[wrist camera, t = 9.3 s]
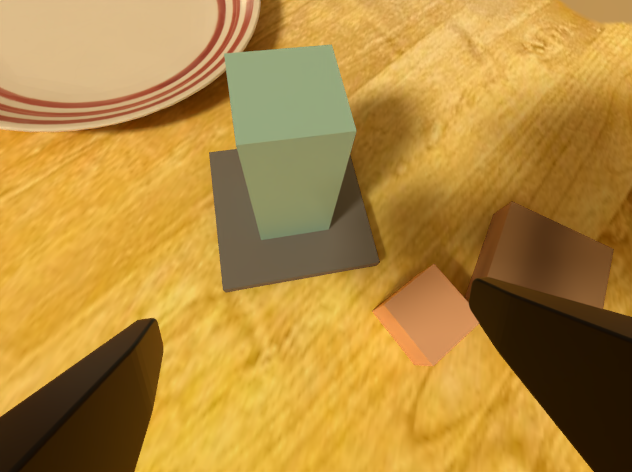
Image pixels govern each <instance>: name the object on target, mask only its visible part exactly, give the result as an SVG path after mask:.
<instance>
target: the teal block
mask: <svg viewBox="0 0 632 472" xmlns="http://www.w3.org/2000/svg"><path fill="white" fill-rule="evenodd" d="M224 58H225V65H226V73H227V81H228V88H229V96H230V103H231V111H232V118H233V126H234V133H235V141H236V147H237V151H238V154H239V158H240V162H241V166H242V170H243V173H244V177H245V181H246V185H247V188H248V192H249V196H250V200H251V204H252V207H253V211H254V215H255V219H256V222H257V226H258V230H259V234H260V238H261V240H265V239H272V238H278V237H284V236H291V235H297V234H303V233H310V232H316V231H322V230H328V229H329V227H330V223H331V220H332V216H333V213H334V209H335V206H336V202H337V199H338V195H339V192H340V188H341V185H342V181H343V177H344V174H345V170H346V167H347V163H348V160H349V156H350V153H351V149H352V146H353V142H354V139H355V135H356V127H355V124H354V120H353V117H352V113H351V110H350V106H349V103H348V99H347V96H346V92H345V89H344V85H343V82H342V79H341V75H340V72H339V68H338V65H337V61H336V58H335V54H334V51H333V47H332V45H322V46H309V47H297V48H285V49H273V50H261V51H248V52H236V53H224Z"/></svg>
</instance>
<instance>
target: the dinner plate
mask: <svg viewBox="0 0 632 472" xmlns="http://www.w3.org/2000/svg"><path fill="white" fill-rule="evenodd" d="M260 7H261V0H0V129H3V130H12V131H24V132H63V131H77V130H84V129H92V128H99V127H104V126H109V125H115V124H119V123H122V122H126V121H130V120H133V119H137V118H140V117H144V116H147V115H149V114H151V113H154V112H157V111H159V110H161V109H164V108H167V107H169V106H172V105H174V104H176V103H178V102H180V101H182V100H184V99H186V98H187V97H189V96H191V95H193V94H194V93H196V92H198V91H200V90H201V89H203V88H205V87H206V86H207V85H209V84H210V83H212V82H213V81H214V80H216V79H217V78H218V77H219V76H220V75H222V74H223V73H224V72H225V71H226V65H225V58H224V53H236V52H243V51H244V49H245V48H246V46H247V44H248V43H249V41H250V39H251V38H252V36H253V33H254V31H255V29H256V26H257V22H258V19H259V14H260Z"/></svg>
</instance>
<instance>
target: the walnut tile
mask: <svg viewBox="0 0 632 472" xmlns="http://www.w3.org/2000/svg"><path fill="white" fill-rule="evenodd" d="M613 250H614V249H612V248H610V247H608V246H606V245H604V244H602V243H600V242H597V241H595V240H593V239H591V238H589V237H587V236H585V235H583V234H580V233H578V232H576V231H574V230H572V229H570V228H568V227H566V226H563V225H561V224H559V223H557V222H555V221H553V220H551V219H549V218H546V217H544V216H542V215H540V214H538V213H536V212H534V211H532V210H529V209H527V208H525V207H523V206H521V205H519V204H517V203H514V202H510V203H509V204H507V205H506V206H505V207H503V208H502V209H500V210H499V211H497V212H496V213H495V214H493V217H492V220H491V223H490V226H489V229H488V232H487V235H486V238H485V240H484V243H483V246H482V249H481V252H480V255H479V258H478V261H477V264H476V267H475V269H474V272H473V275H472V278H471V281H470V284H469V287H468V290H467V293H466V295H465V299H467V300H469V297H470V291H471V285H472V282H473V280H474V279H475V278H481V277H491V278H494V279H498V280H501V281H505V282H508V283H512V284H516V285H519V286H523V287H526V288H530V289H533V290H537V291H541V292H544V293H548V294H551V295H555V296H558V297H562V298H566V299H569V300H573V301H576V302H580V303H583V304H587V305H590V306H594V307H598V308H601V309H603V306H604V300H605V294H606V289H607V283H608V278H609V272H610V267H611V261H612V255H613Z"/></svg>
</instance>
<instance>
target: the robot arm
mask: <svg viewBox="0 0 632 472" xmlns="http://www.w3.org/2000/svg"><path fill="white" fill-rule="evenodd" d="M469 307H470V310H471V312H472V313H473V315H474V316H475V318H476V319H477V321H478V322H479V324H480V325H481V327H482V328H483V330H484V331H485V333H486V334H487V336H488V337H489V339H490V340H491V342H492V343H493V345H494V346H495V348H496V349H497V351H498V352H499V354H500V355H501V356H502V357H503V359H504V360H505V361H506V363H507V364H508V365H509V366H510V368H511V369H512V370H513V371H514V373H515V374H516V375H517V376H518V378H519V379H520V380H521V381H522V383H523V384H524V385H525V386H526V388H527V389H528V390H529V391H530V393H531V394H532V395H533V396H534V398H535V399H536V400H537V401H538V403H539V404H540V405H541V406H542V408H543V409H544V410H545V411H546V413H547V414H548V415H549V416H550V418H551V419H552V420H553V421H554V423H555V424H556V425H557V426H558V428H559V429H560V430H561V431H562V433H563V434H564V435H565V436H566V438H567V439H568V440H569V441H570V443H571V444H572V445H573V446H574V448H575V449H576V450H577V451H578V453H579V454H580V455H581V456H582V458H583V459H584V460H585V461H586V463H587V464H588V465H589V466H590V468H591V469H592V470H593V471H594V472H632V317H630V316H626V315H623V314H619V313H615V312H612V311H608V310H605V309H601V308H598V307H594V306H590V305H587V304H583V303H580V302H576V301H573V300H569V299H566V298H562V297H558V296H555V295H551V294H548V293H544V292H541V291H537V290H533V289H530V288H526V287H523V286H519V285H516V284H512V283H508V282H505V281H501V280H498V279H494V278H491V277H481V278H475V279H474V280H473V282H472V285H471V291H470V297H469ZM162 357H163V342H162V338H161V334H160V330H159V326H158V322H157V320H156V319H154V318H149V319H141V320H137V321H136V322H134V323H133V324H131V325H130V326H129V327H127V328H126V329H124V330H123V331H122V332H120V333H119V334H117V335H116V336H114V337H113V338H112V339H110V340H109V341H107V342H106V343H105V344H103V345H102V346H100V347H99V348H97V349H96V350H95V351H93V352H92V353H90V354H89V355H88V356H86V357H85V358H83V359H82V360H80V361H79V362H78V363H76V364H75V365H73V366H72V367H70V368H69V369H68V370H66V371H65V372H63V373H62V374H61V375H59V376H58V377H56V378H55V379H53V380H52V381H51V382H49V383H48V384H46V385H45V386H44V387H42V388H41V389H39V390H38V391H36V392H35V393H34V394H32V395H31V396H29V397H28V398H27V399H25V400H24V401H22V402H21V403H19V404H18V405H17V406H15V407H14V408H12V409H11V410H9V411H8V412H7V413H5V414H4V415H2V416H1V417H0V472H134V471H135V468H136V464H137V461H138V458H139V455H140V451H141V448H142V445H143V441H144V438H145V435H146V431H147V428H148V425H149V421H150V418H151V414H152V411H153V406H154V401H155V396H156V390H157V384H158V379H159V373H160V368H161V362H162Z"/></svg>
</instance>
